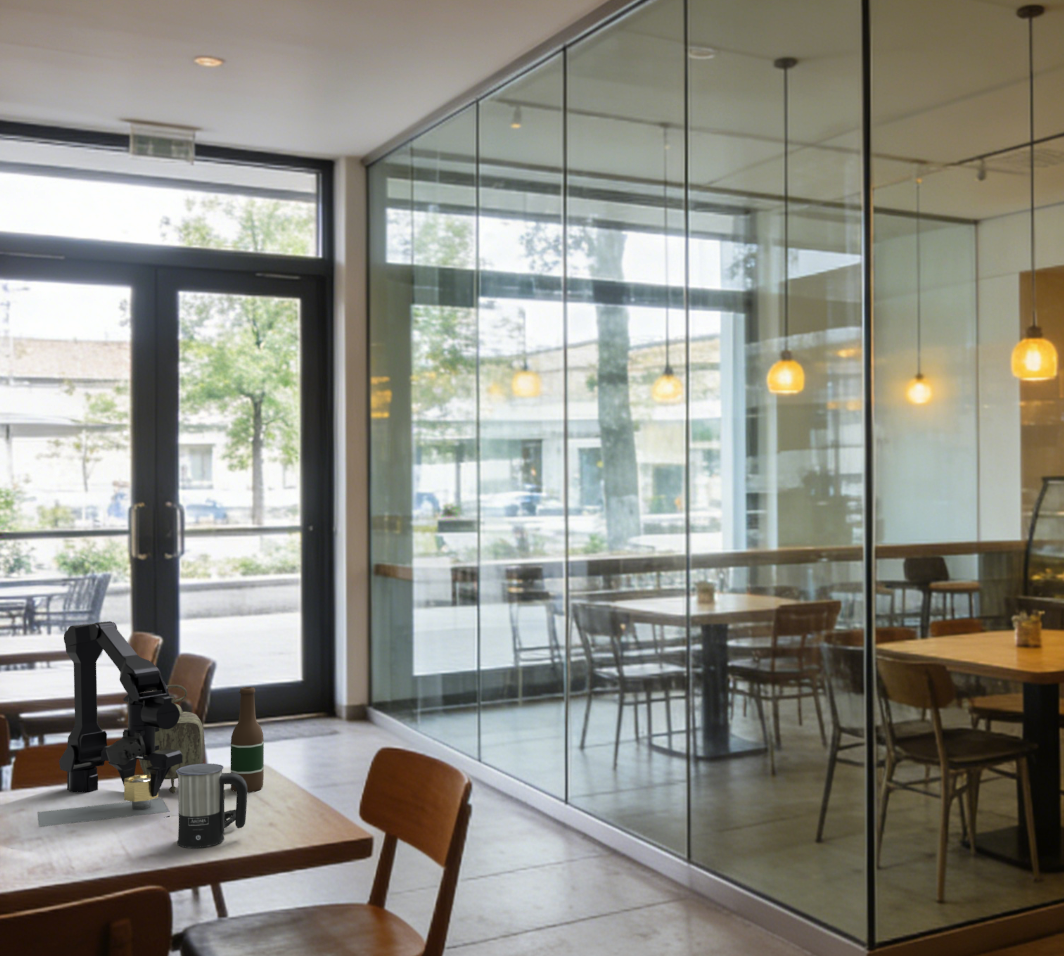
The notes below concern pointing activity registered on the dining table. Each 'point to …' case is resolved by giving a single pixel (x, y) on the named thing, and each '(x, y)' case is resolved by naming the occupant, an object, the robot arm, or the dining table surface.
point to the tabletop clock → (180, 741)
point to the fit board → (103, 811)
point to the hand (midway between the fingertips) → (141, 794)
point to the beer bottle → (248, 744)
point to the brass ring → (137, 789)
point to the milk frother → (207, 804)
